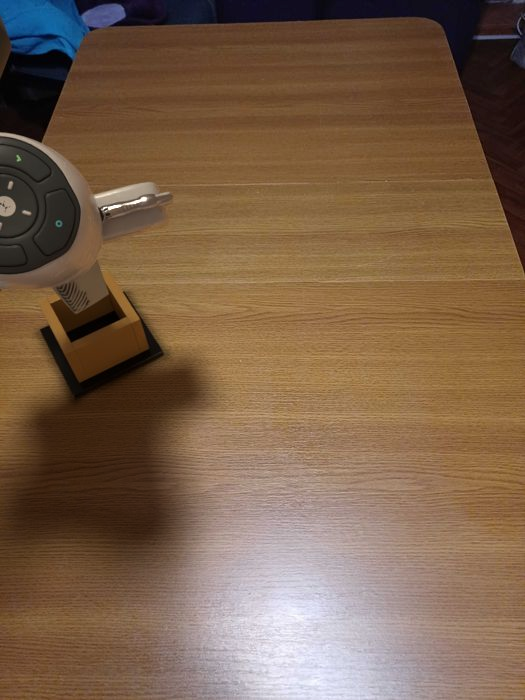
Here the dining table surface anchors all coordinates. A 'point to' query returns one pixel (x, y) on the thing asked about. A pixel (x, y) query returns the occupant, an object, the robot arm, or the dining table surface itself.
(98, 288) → the box
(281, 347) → the dining table surface
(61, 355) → the open wooden box
